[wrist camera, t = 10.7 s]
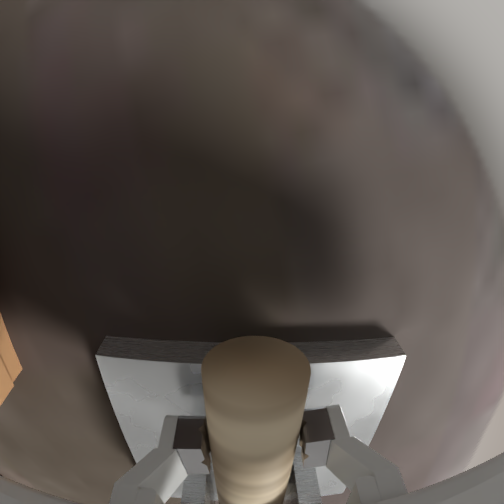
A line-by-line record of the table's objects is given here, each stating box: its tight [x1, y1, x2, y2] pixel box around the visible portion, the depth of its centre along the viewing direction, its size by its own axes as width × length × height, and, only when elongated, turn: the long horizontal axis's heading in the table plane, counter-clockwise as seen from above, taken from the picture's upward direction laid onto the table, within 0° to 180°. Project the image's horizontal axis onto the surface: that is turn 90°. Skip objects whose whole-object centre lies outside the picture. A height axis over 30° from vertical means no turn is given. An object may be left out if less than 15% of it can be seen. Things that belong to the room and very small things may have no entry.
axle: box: [201, 336, 311, 504], centre depth 12 cm, size 14×3×3 cm, turn 179°
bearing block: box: [95, 336, 406, 504], centre depth 12 cm, size 12×12×6 cm
